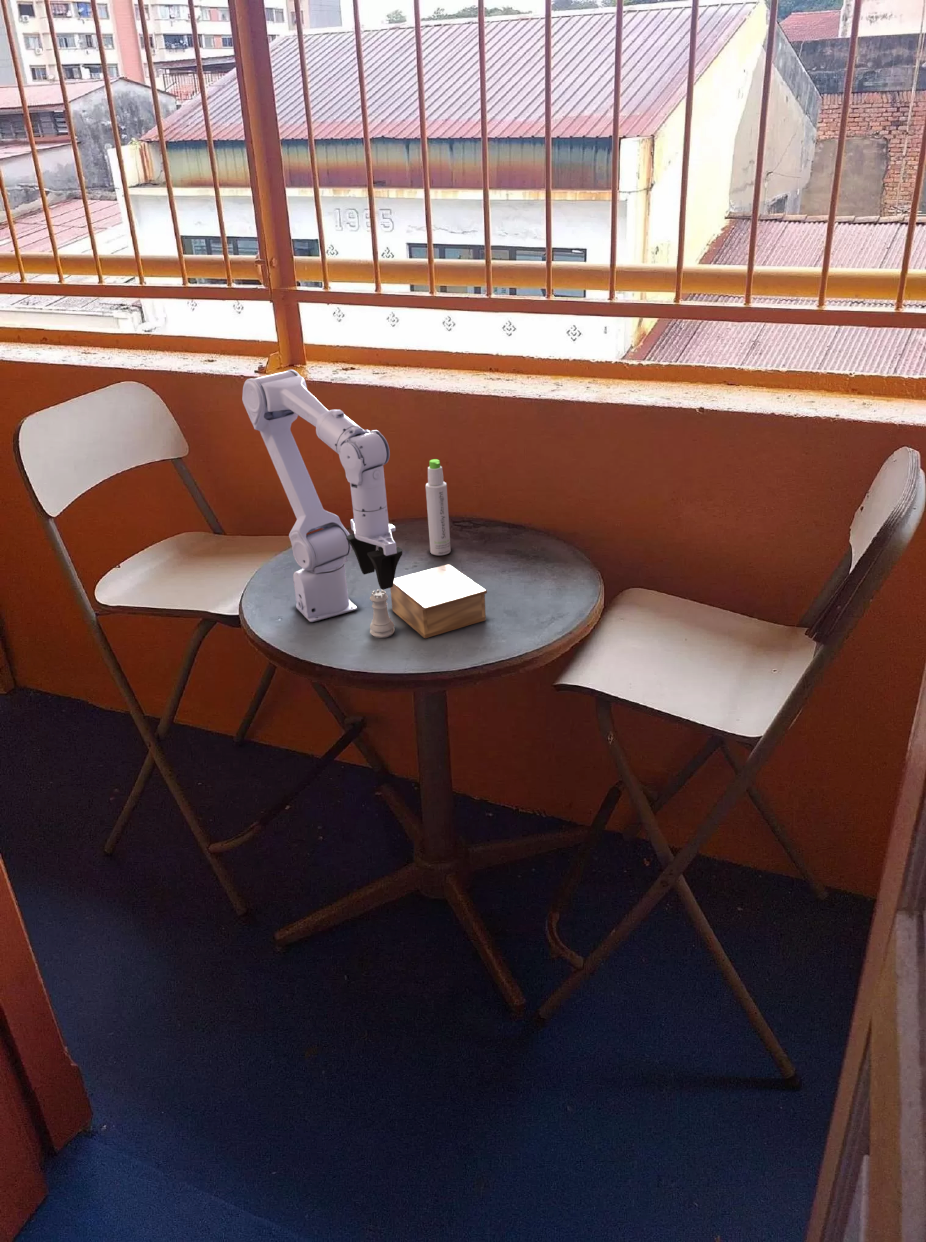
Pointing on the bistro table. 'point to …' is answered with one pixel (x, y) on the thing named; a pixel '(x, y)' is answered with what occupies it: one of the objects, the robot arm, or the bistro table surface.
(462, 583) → the lid
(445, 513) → the bottle
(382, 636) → the rook chess piece
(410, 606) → the keepsake box
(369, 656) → the bistro table surface
